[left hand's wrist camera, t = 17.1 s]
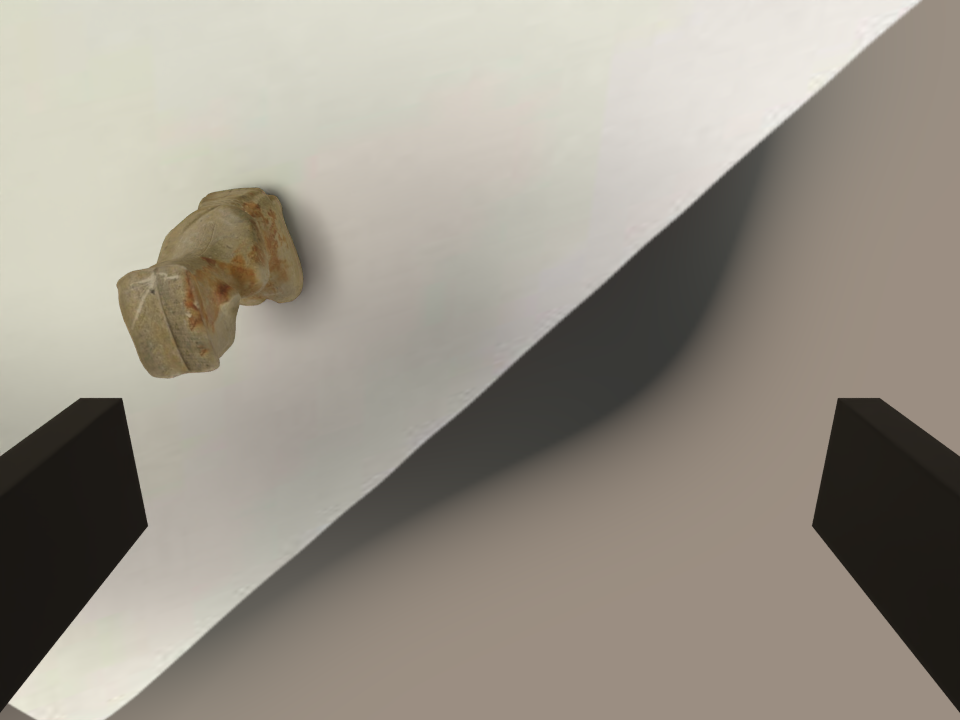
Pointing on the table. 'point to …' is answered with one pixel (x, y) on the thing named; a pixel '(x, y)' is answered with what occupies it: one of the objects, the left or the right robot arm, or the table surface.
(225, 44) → the table surface
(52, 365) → the table surface
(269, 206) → the sculpture
